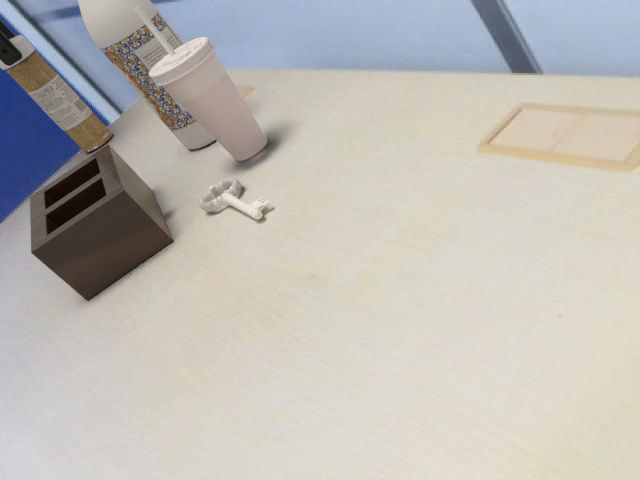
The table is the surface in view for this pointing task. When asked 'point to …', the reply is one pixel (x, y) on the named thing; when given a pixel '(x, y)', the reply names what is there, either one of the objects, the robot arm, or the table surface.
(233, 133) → the smoothie
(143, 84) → the bath foam
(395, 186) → the table surface
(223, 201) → the key
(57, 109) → the sprinkles bottle
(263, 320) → the table surface
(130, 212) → the two-slot toaster box
